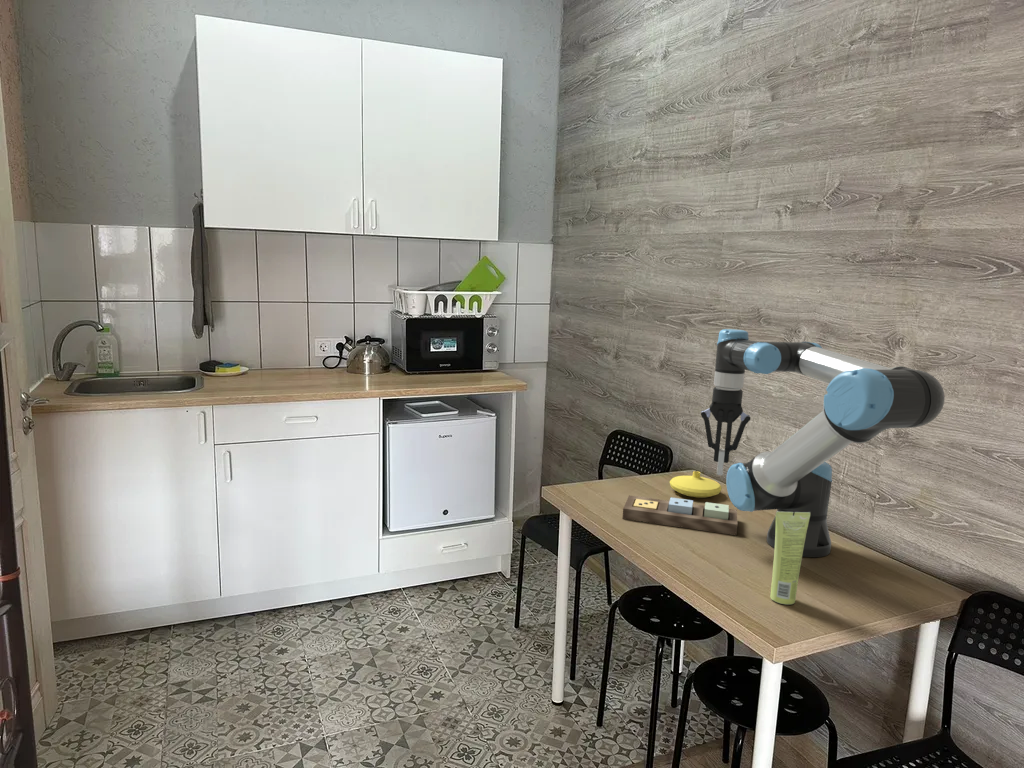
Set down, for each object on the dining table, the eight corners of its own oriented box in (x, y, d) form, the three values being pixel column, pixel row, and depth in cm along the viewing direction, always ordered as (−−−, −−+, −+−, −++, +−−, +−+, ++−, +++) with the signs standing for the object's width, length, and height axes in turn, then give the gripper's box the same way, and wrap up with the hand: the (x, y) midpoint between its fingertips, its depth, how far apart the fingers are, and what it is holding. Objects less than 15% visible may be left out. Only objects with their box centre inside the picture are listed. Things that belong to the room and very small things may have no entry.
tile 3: (657, 511, 195) (658, 501, 195) (655, 519, 189) (656, 507, 189) (635, 508, 197) (636, 498, 197) (632, 515, 191) (633, 504, 191)
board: (735, 520, 192) (736, 510, 192) (736, 535, 181) (737, 524, 180) (628, 505, 201) (629, 495, 200) (622, 518, 189) (623, 508, 189)
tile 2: (692, 510, 192) (693, 499, 192) (691, 517, 186) (692, 506, 186) (669, 507, 194) (670, 496, 194) (667, 514, 188) (668, 503, 188)
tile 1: (727, 515, 190) (728, 504, 189) (727, 523, 184) (728, 511, 183) (704, 512, 191) (705, 501, 191) (703, 519, 186) (704, 508, 185)
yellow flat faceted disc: (702, 505, 203) (705, 483, 202) (658, 491, 215) (660, 470, 214) (730, 495, 214) (732, 474, 213) (687, 483, 225) (689, 462, 224)
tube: (776, 591, 149) (786, 505, 146) (800, 599, 146) (810, 511, 142) (765, 599, 145) (775, 511, 142) (789, 608, 141) (800, 518, 138)
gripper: (753, 388, 183) (744, 473, 187) (703, 383, 187) (695, 467, 191) (754, 392, 176) (745, 480, 180) (702, 387, 180) (694, 474, 184)
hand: (719, 473), depth 186 cm, fingers closed
